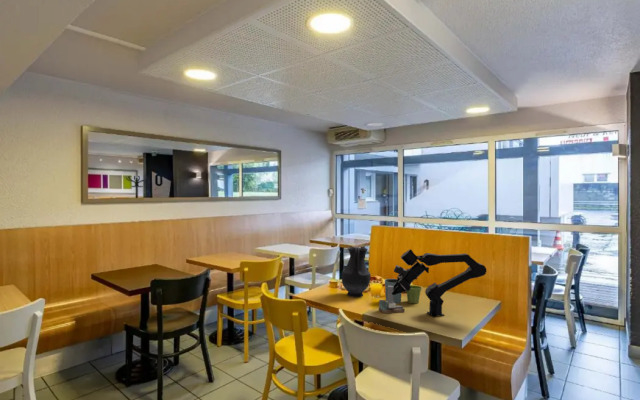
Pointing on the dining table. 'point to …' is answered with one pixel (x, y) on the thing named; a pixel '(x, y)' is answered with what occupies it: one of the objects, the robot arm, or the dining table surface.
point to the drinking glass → (397, 296)
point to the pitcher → (356, 273)
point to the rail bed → (385, 309)
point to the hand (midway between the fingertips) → (392, 292)
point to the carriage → (390, 298)
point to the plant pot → (414, 294)
